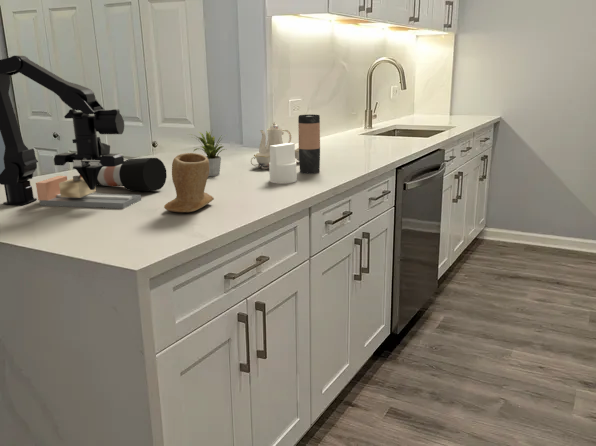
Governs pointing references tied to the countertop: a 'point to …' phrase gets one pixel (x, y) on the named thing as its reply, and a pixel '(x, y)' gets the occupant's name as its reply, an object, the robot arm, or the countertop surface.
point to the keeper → (75, 188)
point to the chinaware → (273, 139)
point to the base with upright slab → (282, 163)
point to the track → (52, 197)
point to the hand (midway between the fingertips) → (92, 189)
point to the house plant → (211, 153)
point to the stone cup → (189, 183)
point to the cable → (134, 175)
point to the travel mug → (309, 143)
